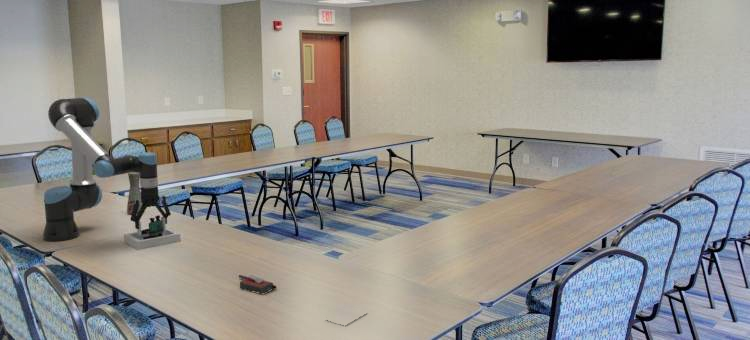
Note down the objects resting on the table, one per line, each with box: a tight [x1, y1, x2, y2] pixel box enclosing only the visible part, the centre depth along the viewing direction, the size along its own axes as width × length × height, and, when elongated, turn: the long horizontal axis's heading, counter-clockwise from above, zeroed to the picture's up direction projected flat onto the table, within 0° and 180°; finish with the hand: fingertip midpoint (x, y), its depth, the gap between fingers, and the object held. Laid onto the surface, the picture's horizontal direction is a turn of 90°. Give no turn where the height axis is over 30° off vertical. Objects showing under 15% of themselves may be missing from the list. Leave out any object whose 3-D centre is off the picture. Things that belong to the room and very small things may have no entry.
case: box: [123, 226, 181, 250], centre depth 277 cm, size 16×20×4 cm
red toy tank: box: [238, 274, 277, 294], centre depth 223 cm, size 9×4×20 cm
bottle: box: [126, 172, 143, 215], centre depth 326 cm, size 9×9×28 cm
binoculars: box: [141, 214, 163, 239], centre depth 277 cm, size 9×11×10 cm
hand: (151, 233), depth 277 cm, fingers open, 11 cm apart
